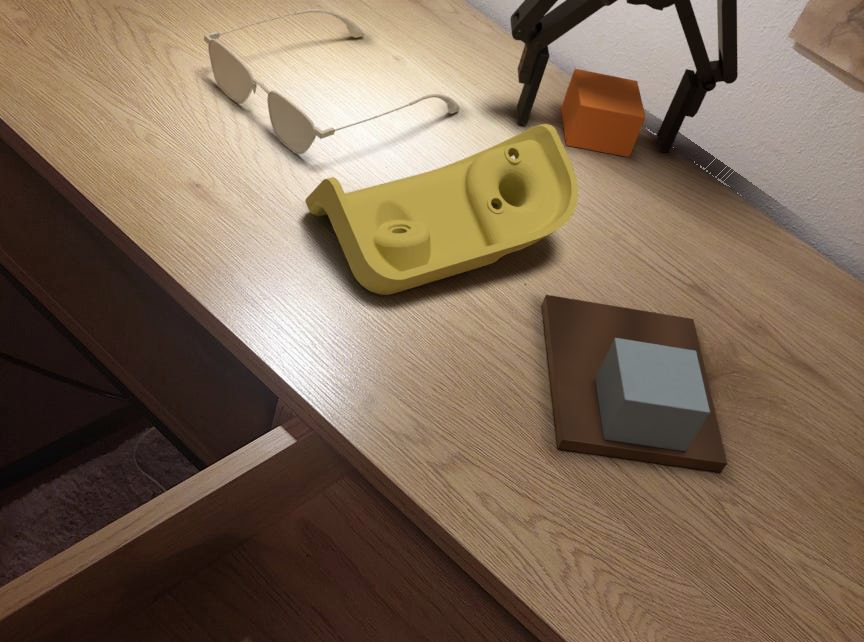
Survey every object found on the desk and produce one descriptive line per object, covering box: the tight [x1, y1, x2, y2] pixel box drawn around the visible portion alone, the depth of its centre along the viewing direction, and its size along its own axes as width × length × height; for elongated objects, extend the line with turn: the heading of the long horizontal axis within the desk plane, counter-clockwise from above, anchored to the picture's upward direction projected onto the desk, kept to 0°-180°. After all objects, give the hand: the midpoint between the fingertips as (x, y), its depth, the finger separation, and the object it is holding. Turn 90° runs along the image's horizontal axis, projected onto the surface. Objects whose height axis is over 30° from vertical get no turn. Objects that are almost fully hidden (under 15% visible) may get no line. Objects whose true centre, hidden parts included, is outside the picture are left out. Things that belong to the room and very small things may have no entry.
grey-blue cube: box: [595, 338, 710, 451], centre depth 74 cm, size 6×6×4 cm
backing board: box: [541, 294, 728, 473], centre depth 78 cm, size 12×15×1 cm
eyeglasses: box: [203, 8, 461, 155], centre depth 92 cm, size 15×18×4 cm
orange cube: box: [560, 68, 646, 158], centre depth 97 cm, size 6×6×4 cm
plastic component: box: [304, 123, 579, 296], centre depth 83 cm, size 20×7×10 cm
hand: (592, 130), depth 98 cm, fingers open, 13 cm apart
